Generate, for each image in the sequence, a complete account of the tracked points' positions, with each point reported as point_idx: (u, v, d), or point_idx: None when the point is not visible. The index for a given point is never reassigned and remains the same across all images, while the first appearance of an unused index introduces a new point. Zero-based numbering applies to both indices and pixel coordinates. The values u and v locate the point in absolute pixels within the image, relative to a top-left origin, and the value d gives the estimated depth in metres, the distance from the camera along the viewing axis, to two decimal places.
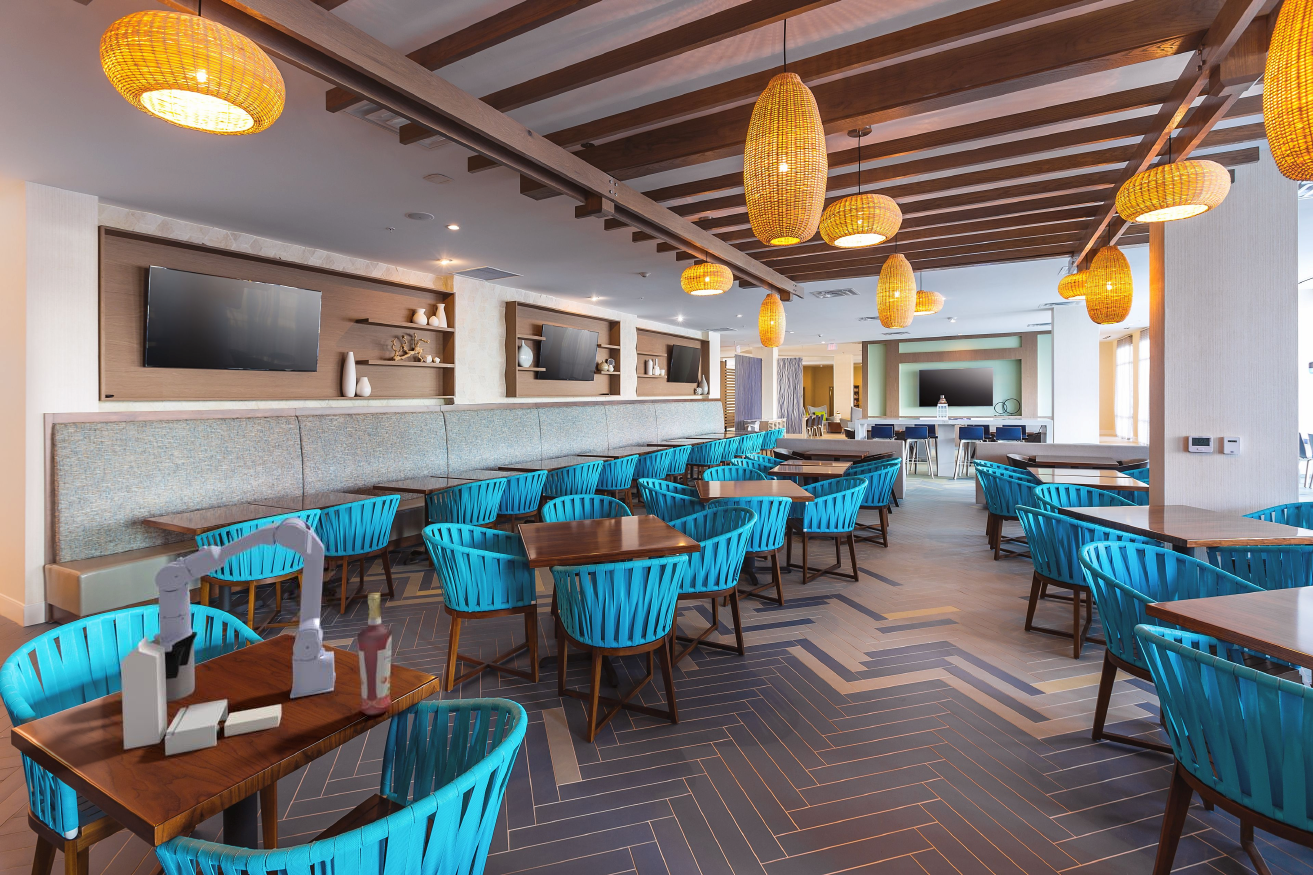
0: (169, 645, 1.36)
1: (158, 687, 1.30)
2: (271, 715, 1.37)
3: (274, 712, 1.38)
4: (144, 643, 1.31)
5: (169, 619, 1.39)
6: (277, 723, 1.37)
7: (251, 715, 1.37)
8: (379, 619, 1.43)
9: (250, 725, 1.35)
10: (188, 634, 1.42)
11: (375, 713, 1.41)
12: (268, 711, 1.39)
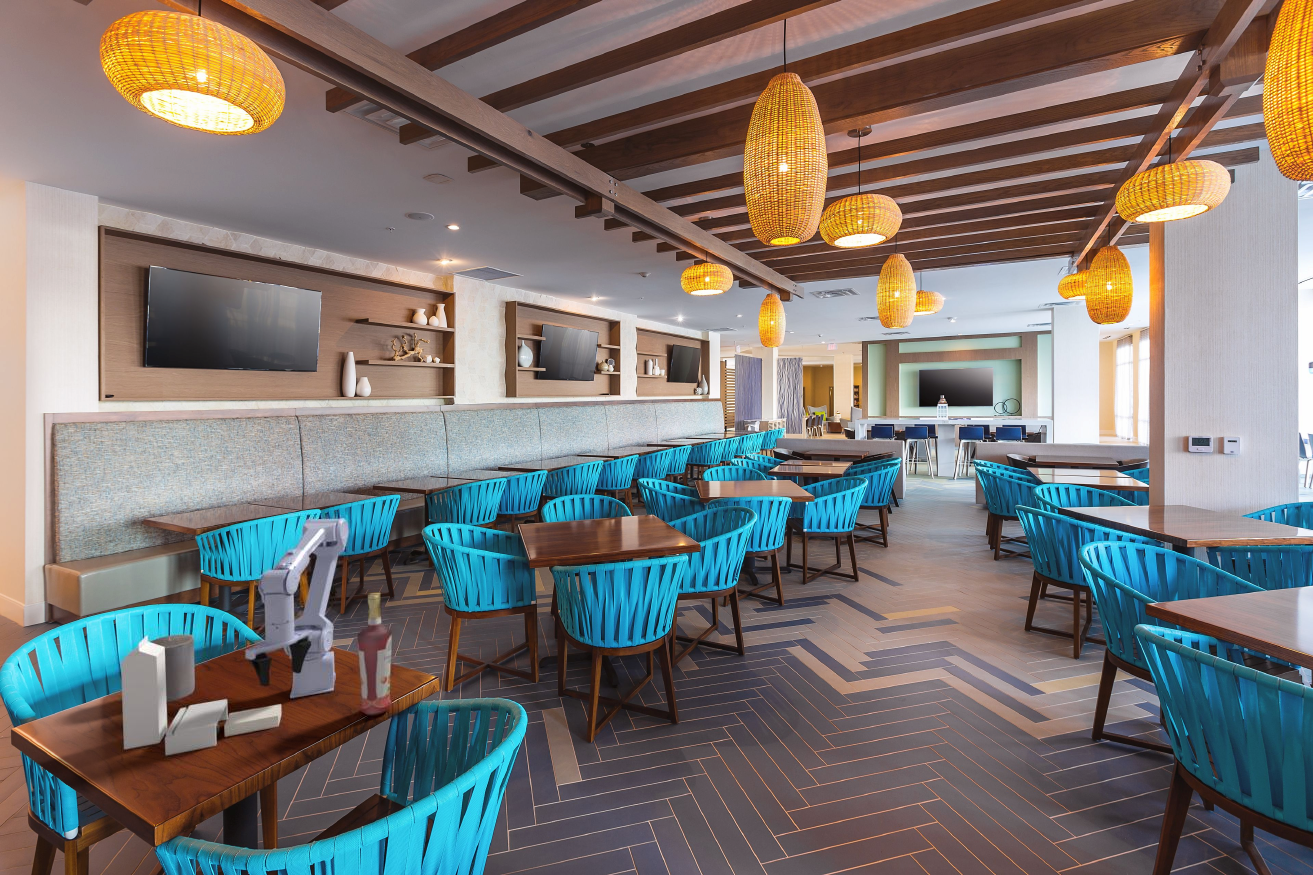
0: (250, 653, 1.34)
1: (158, 687, 1.30)
2: (271, 715, 1.37)
3: (274, 712, 1.38)
4: (144, 643, 1.31)
5: (266, 625, 1.39)
6: (277, 723, 1.37)
7: (251, 715, 1.37)
8: (379, 619, 1.43)
9: (250, 725, 1.35)
10: (282, 645, 1.39)
11: (375, 713, 1.41)
12: (268, 711, 1.39)
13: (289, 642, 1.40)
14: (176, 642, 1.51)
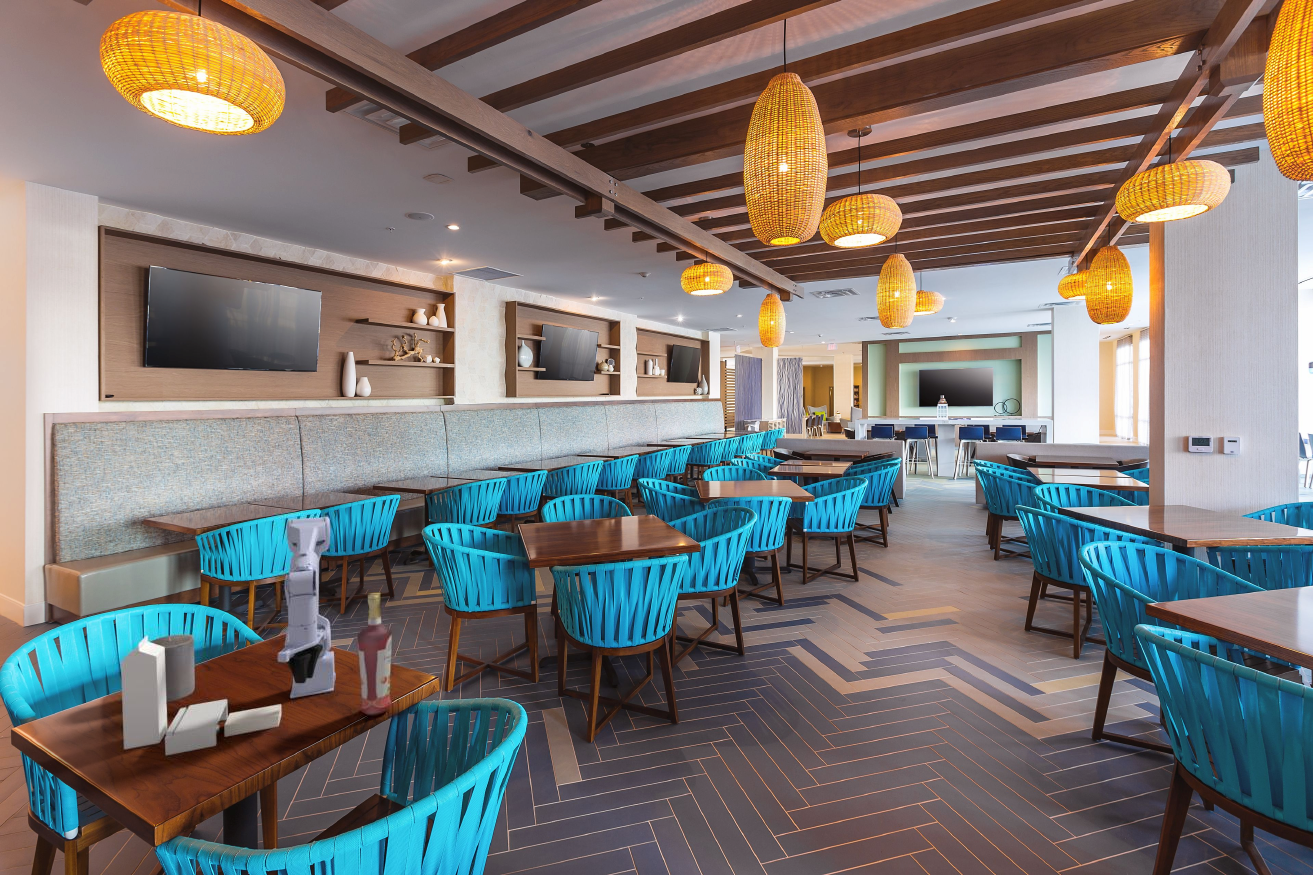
0: (285, 656, 1.34)
1: (158, 687, 1.30)
2: (271, 715, 1.37)
3: (274, 712, 1.38)
4: (144, 643, 1.31)
5: (293, 628, 1.38)
6: (277, 723, 1.37)
7: (251, 715, 1.37)
8: (379, 619, 1.43)
9: (250, 725, 1.35)
10: (311, 645, 1.40)
11: (375, 713, 1.41)
12: (268, 711, 1.39)
13: (316, 642, 1.41)
14: (176, 642, 1.51)
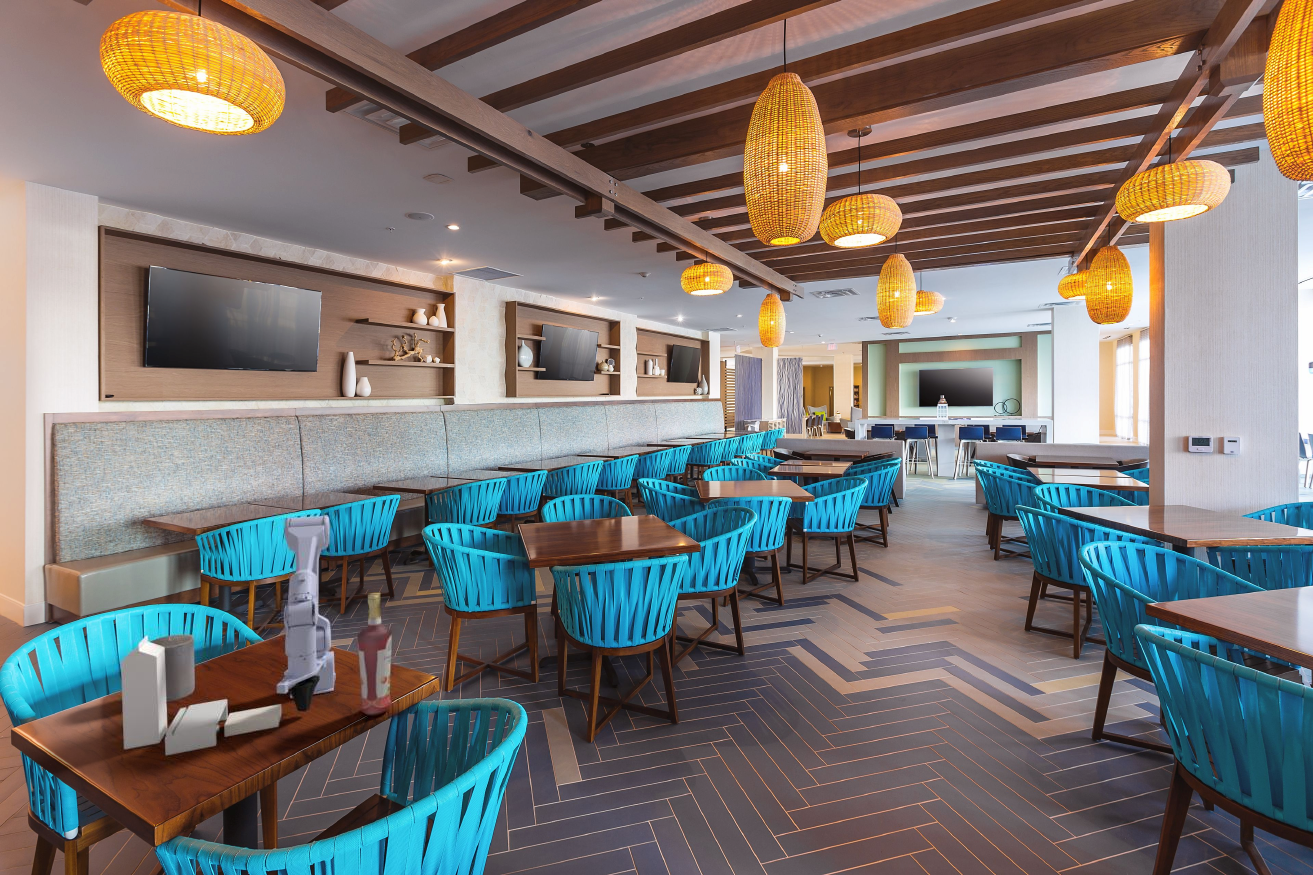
0: (284, 687, 1.34)
1: (158, 687, 1.30)
2: (271, 715, 1.37)
3: (274, 712, 1.38)
4: (144, 643, 1.31)
5: (292, 658, 1.38)
6: (277, 723, 1.37)
7: (251, 715, 1.37)
8: (379, 619, 1.43)
9: (250, 725, 1.35)
10: (310, 675, 1.40)
11: (375, 713, 1.41)
12: (268, 711, 1.39)
13: (315, 672, 1.41)
14: (176, 642, 1.51)
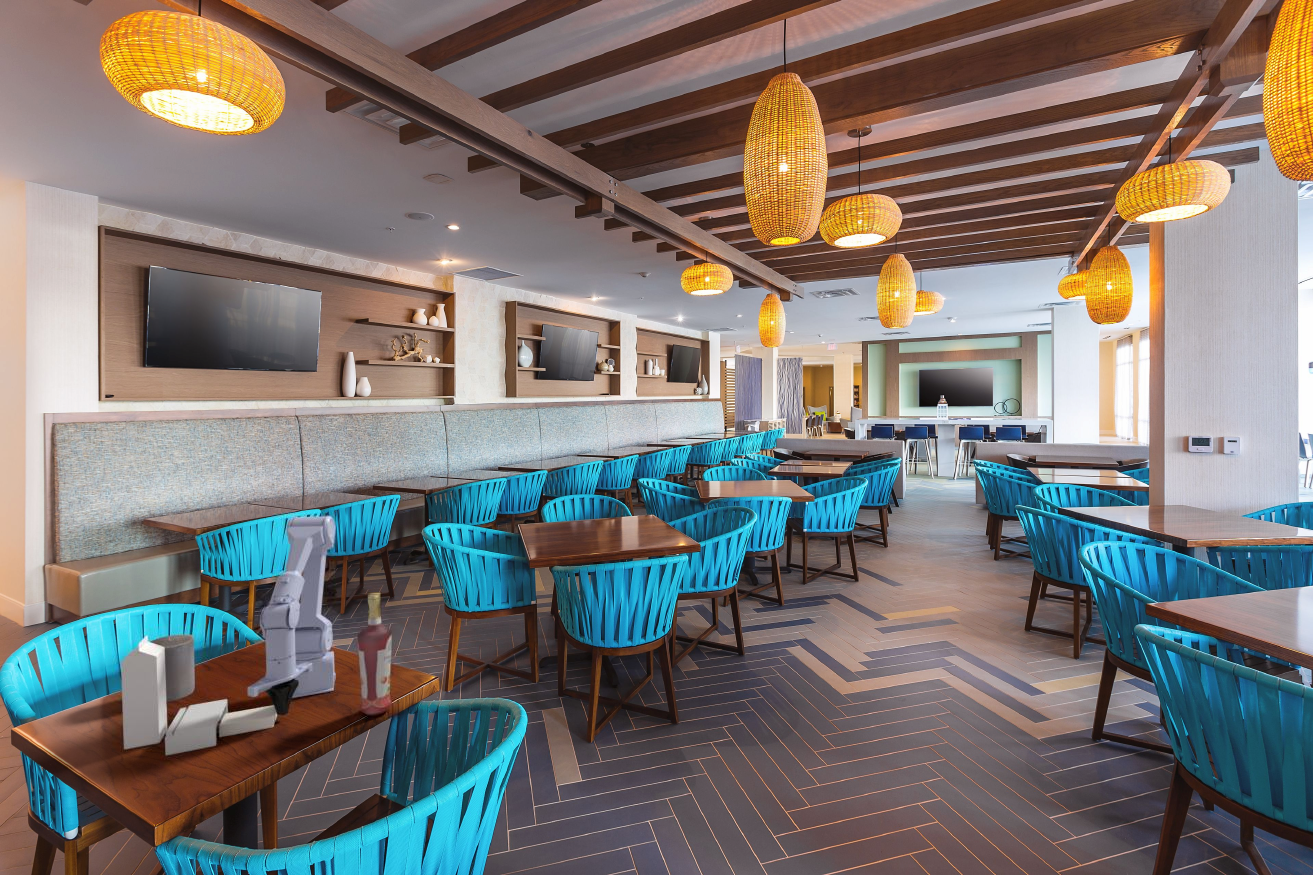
0: (253, 690, 1.32)
1: (158, 687, 1.30)
2: (266, 716, 1.36)
3: (269, 712, 1.38)
4: (144, 643, 1.31)
5: (268, 661, 1.37)
6: (272, 724, 1.37)
7: (246, 715, 1.37)
8: (379, 619, 1.43)
9: (245, 726, 1.34)
10: (284, 680, 1.37)
11: (375, 713, 1.41)
12: (263, 712, 1.38)
13: (291, 677, 1.39)
14: (175, 642, 1.51)
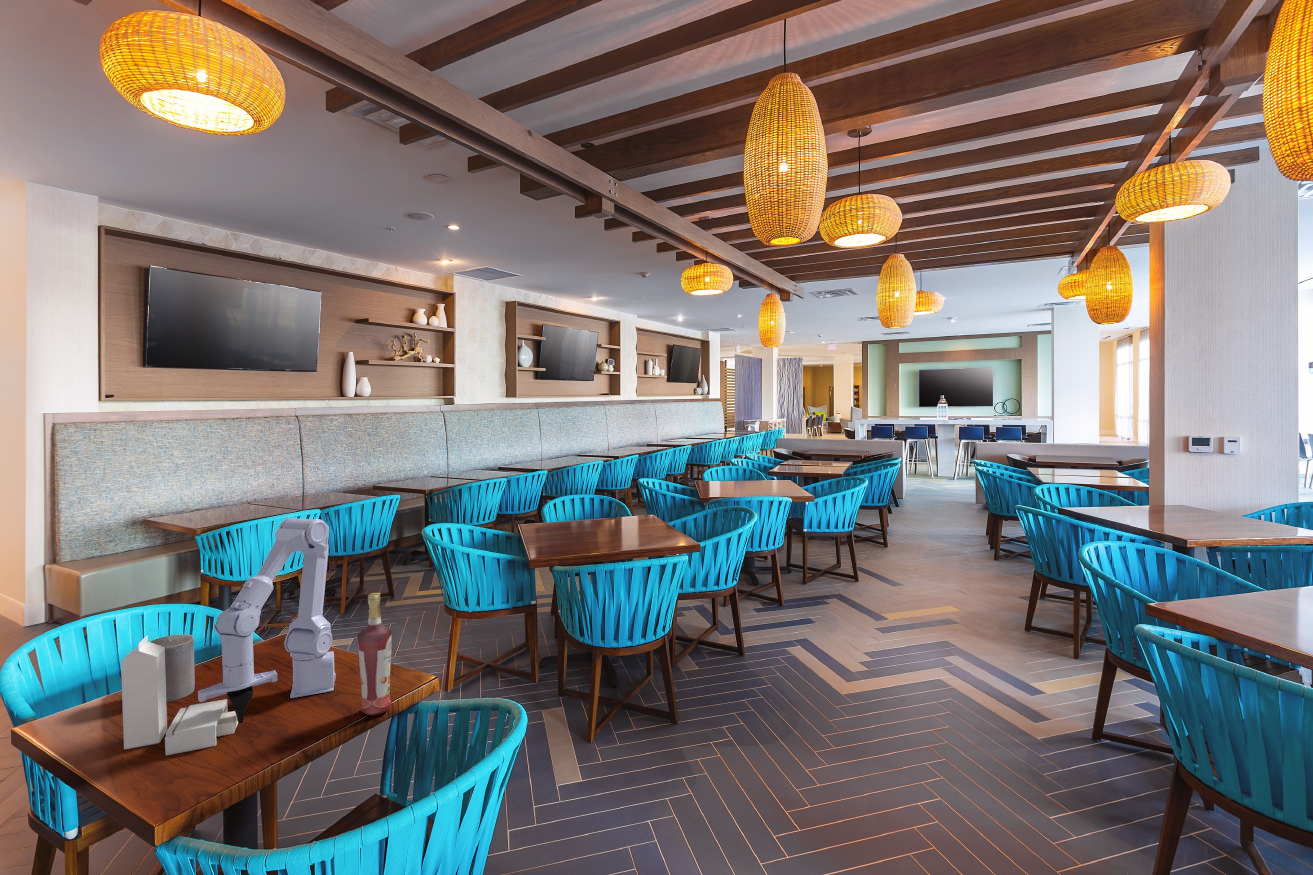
0: (199, 695, 1.30)
1: (158, 687, 1.30)
2: (226, 722, 1.34)
3: (230, 718, 1.35)
4: (144, 643, 1.31)
5: None
6: (232, 730, 1.34)
7: None
8: (379, 619, 1.43)
9: None
10: (234, 688, 1.33)
11: (375, 713, 1.41)
12: (224, 717, 1.36)
13: (243, 686, 1.34)
14: (176, 642, 1.51)
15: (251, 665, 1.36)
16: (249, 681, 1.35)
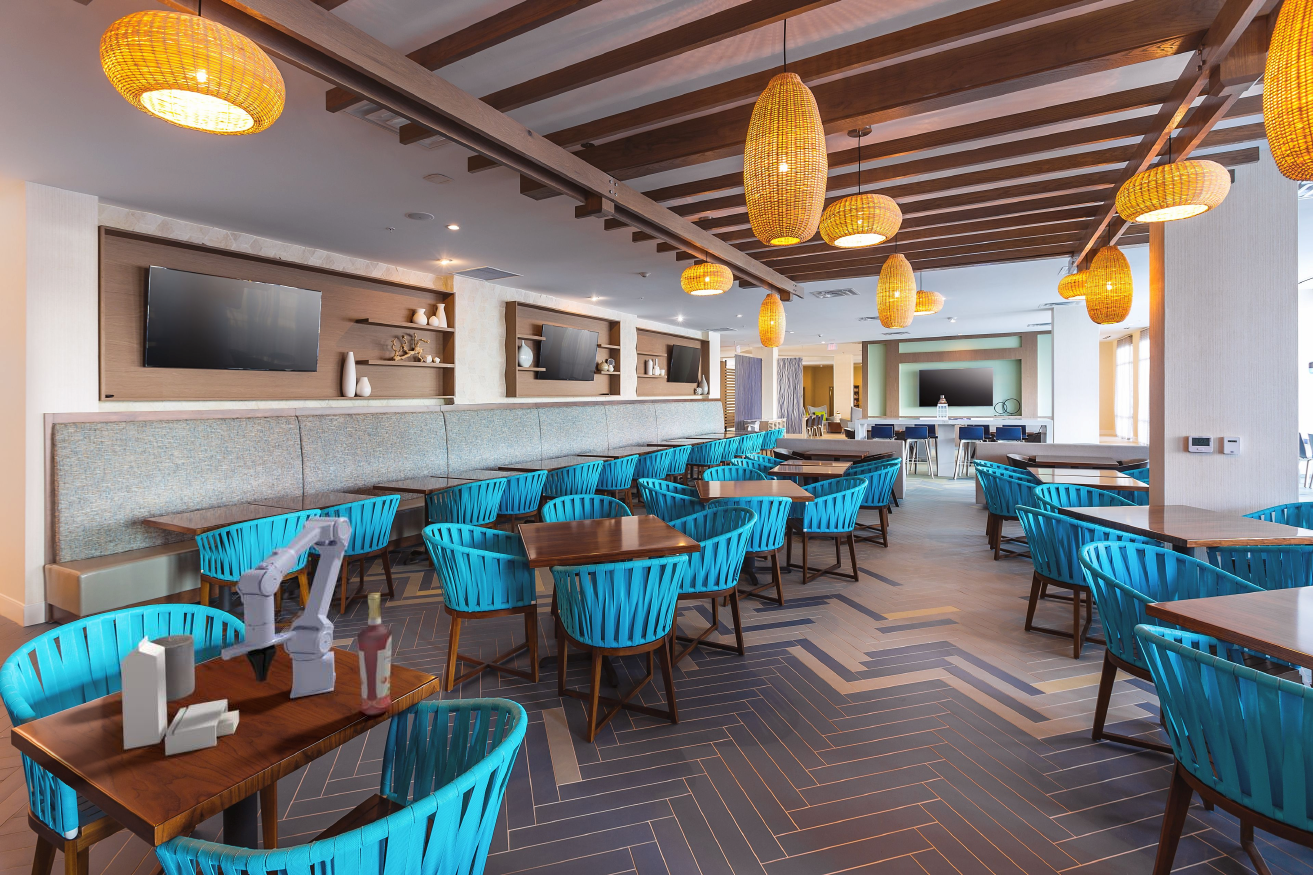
0: (224, 654, 1.33)
1: (158, 687, 1.30)
2: (226, 722, 1.34)
3: (230, 718, 1.35)
4: (144, 643, 1.31)
5: (245, 626, 1.37)
6: (232, 730, 1.34)
7: None
8: (379, 619, 1.43)
9: None
10: (258, 646, 1.36)
11: (375, 713, 1.41)
12: (224, 717, 1.36)
13: (266, 644, 1.37)
14: (176, 642, 1.51)
15: (273, 624, 1.39)
16: (271, 640, 1.39)
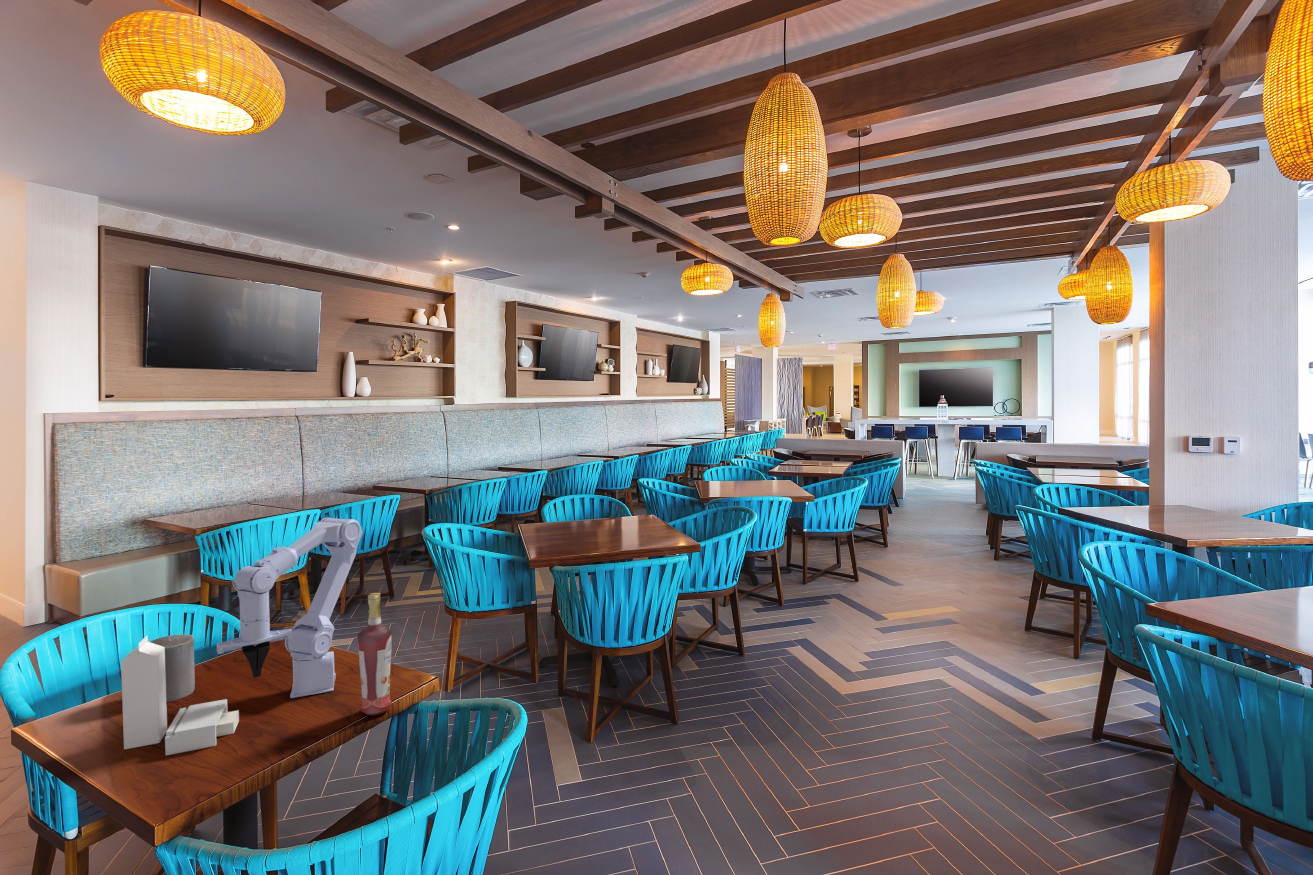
0: (217, 648, 1.36)
1: (158, 687, 1.30)
2: (226, 722, 1.34)
3: (230, 718, 1.35)
4: (144, 643, 1.31)
5: (240, 621, 1.39)
6: (232, 730, 1.34)
7: None
8: (379, 619, 1.43)
9: None
10: (250, 643, 1.38)
11: (375, 713, 1.41)
12: (224, 717, 1.36)
13: (258, 641, 1.39)
14: (176, 642, 1.51)
15: (267, 621, 1.41)
16: (264, 637, 1.40)
